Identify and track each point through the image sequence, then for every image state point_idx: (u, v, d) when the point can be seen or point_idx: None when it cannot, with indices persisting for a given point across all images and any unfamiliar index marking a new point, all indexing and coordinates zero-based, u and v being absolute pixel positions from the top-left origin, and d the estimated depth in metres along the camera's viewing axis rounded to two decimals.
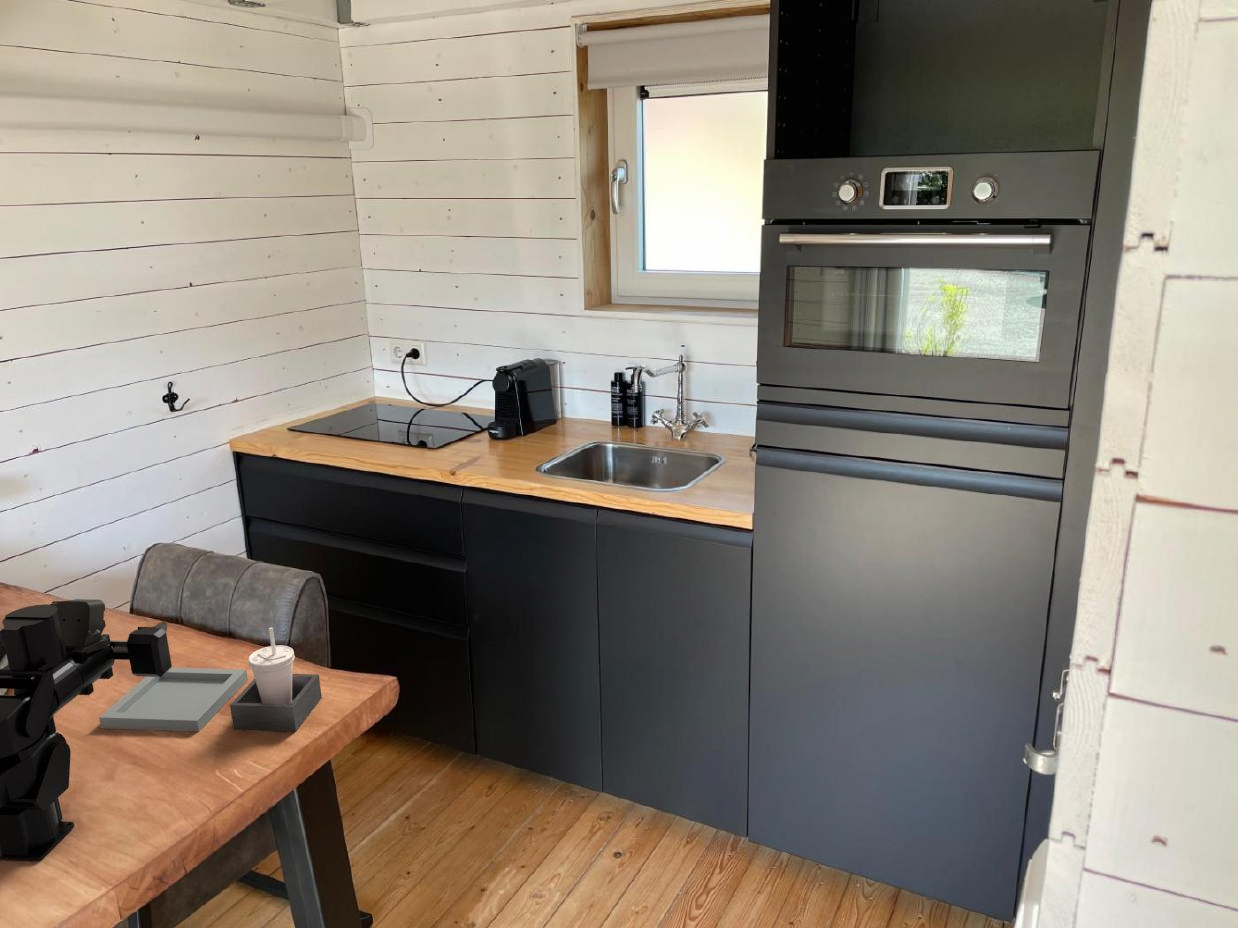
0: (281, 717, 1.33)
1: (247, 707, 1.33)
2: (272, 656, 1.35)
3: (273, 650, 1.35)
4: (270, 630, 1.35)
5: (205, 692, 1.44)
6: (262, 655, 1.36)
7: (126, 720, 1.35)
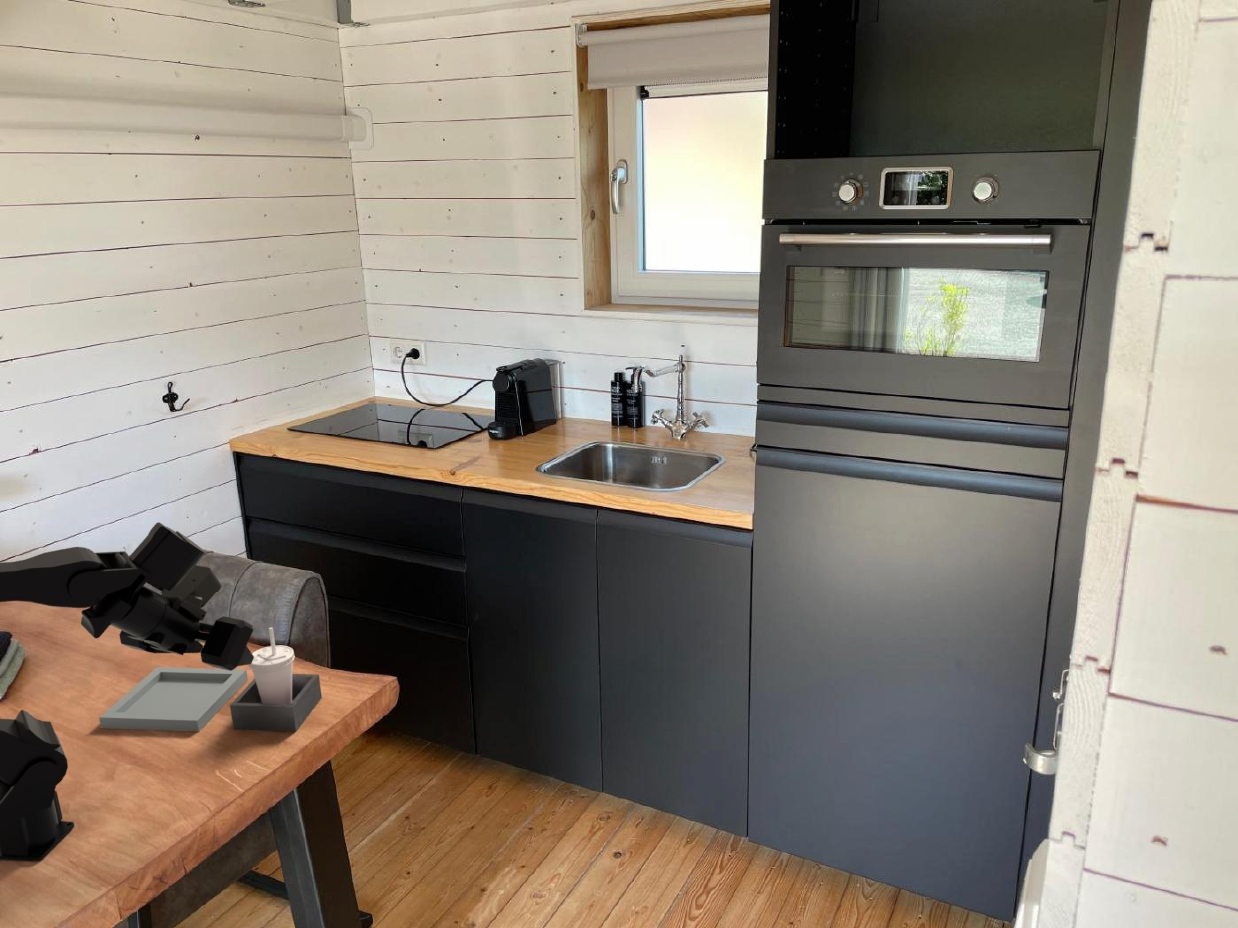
0: (281, 717, 1.33)
1: (247, 707, 1.33)
2: (272, 656, 1.35)
3: (273, 650, 1.35)
4: (270, 630, 1.35)
5: (205, 692, 1.44)
6: (262, 655, 1.36)
7: (126, 720, 1.35)
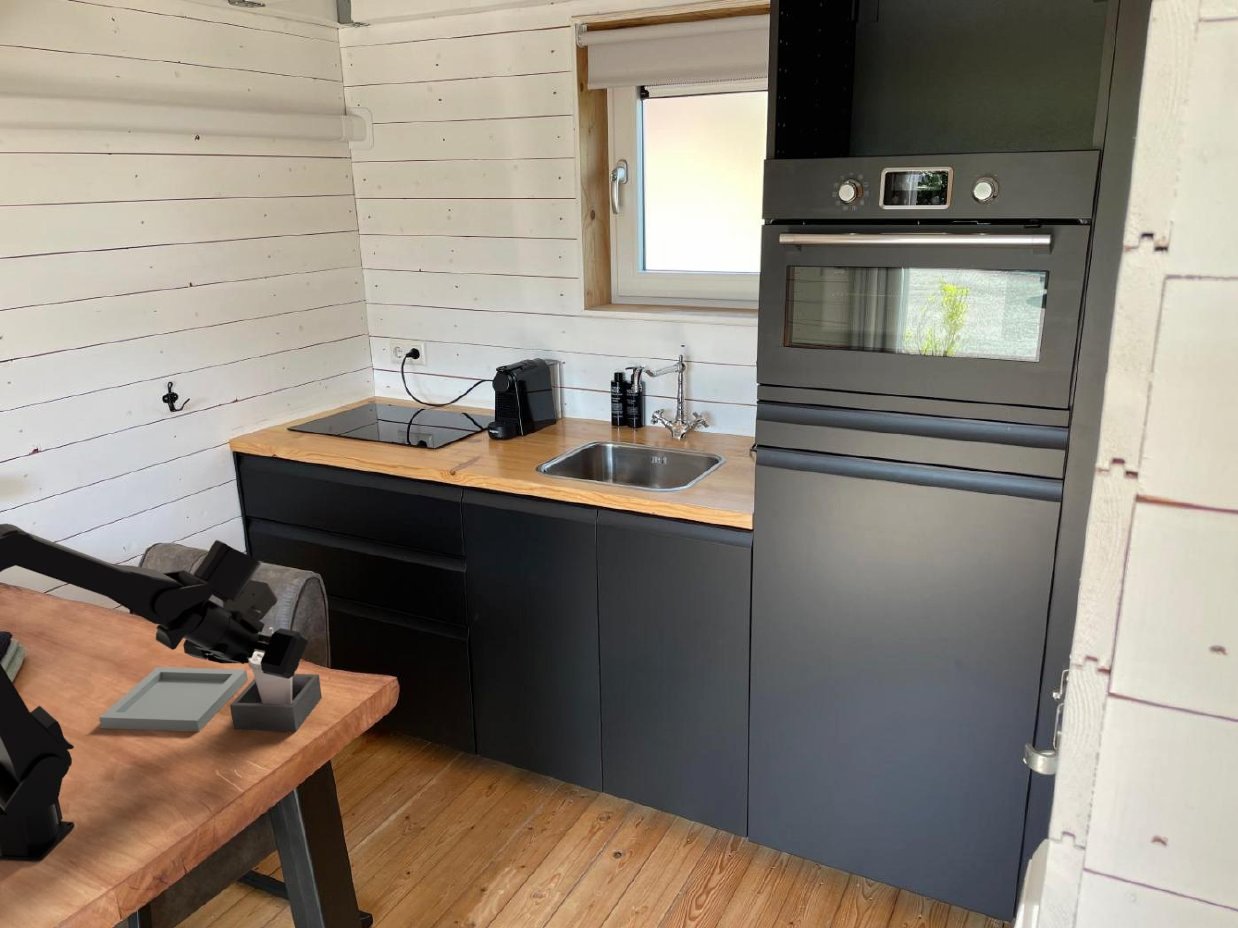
0: (281, 717, 1.33)
1: (247, 707, 1.33)
2: None
3: None
4: (270, 630, 1.35)
5: (205, 692, 1.44)
6: (262, 655, 1.36)
7: (126, 720, 1.35)
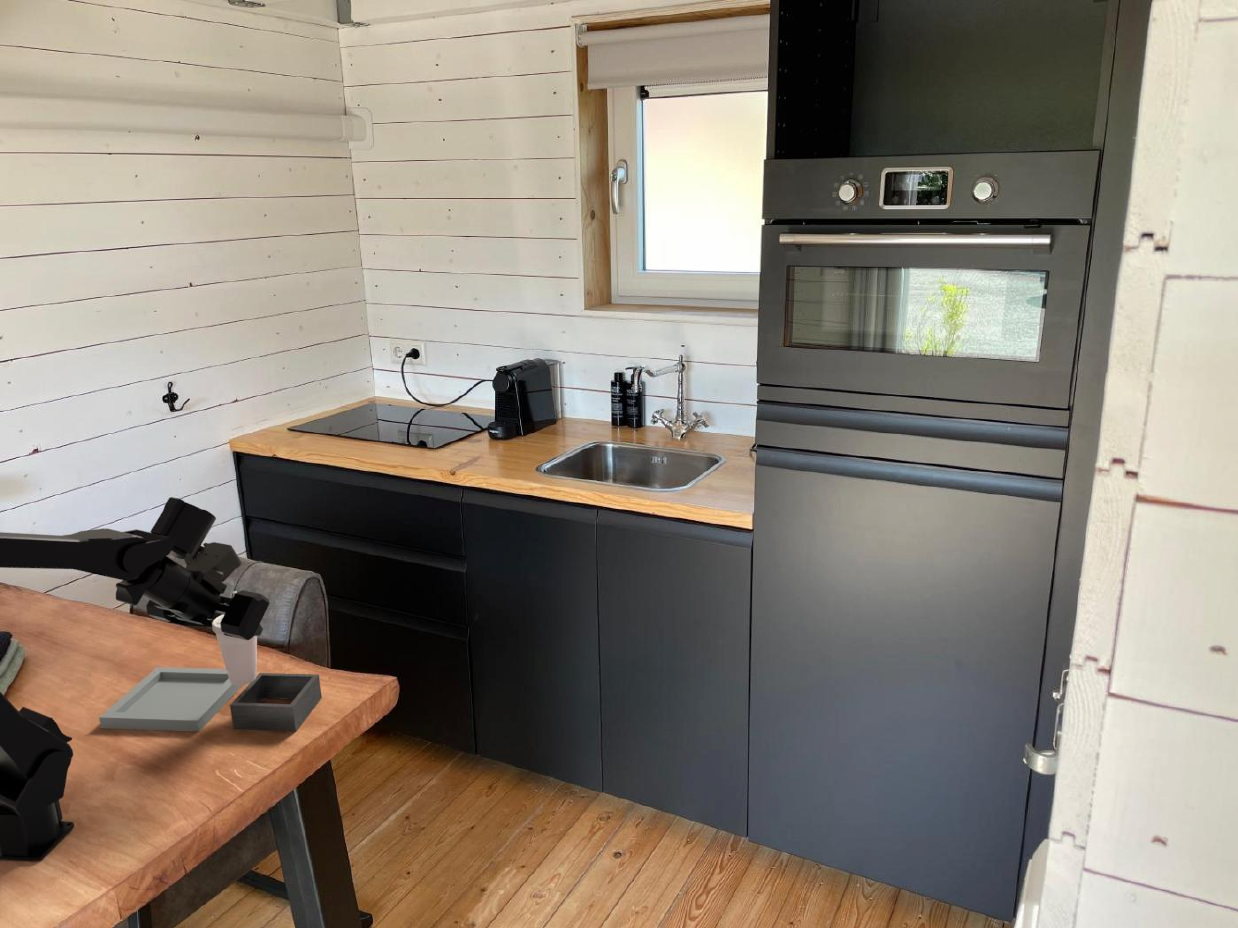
0: (281, 717, 1.33)
1: (247, 707, 1.33)
2: None
3: None
4: (234, 594, 1.34)
5: (205, 692, 1.44)
6: None
7: (126, 720, 1.35)
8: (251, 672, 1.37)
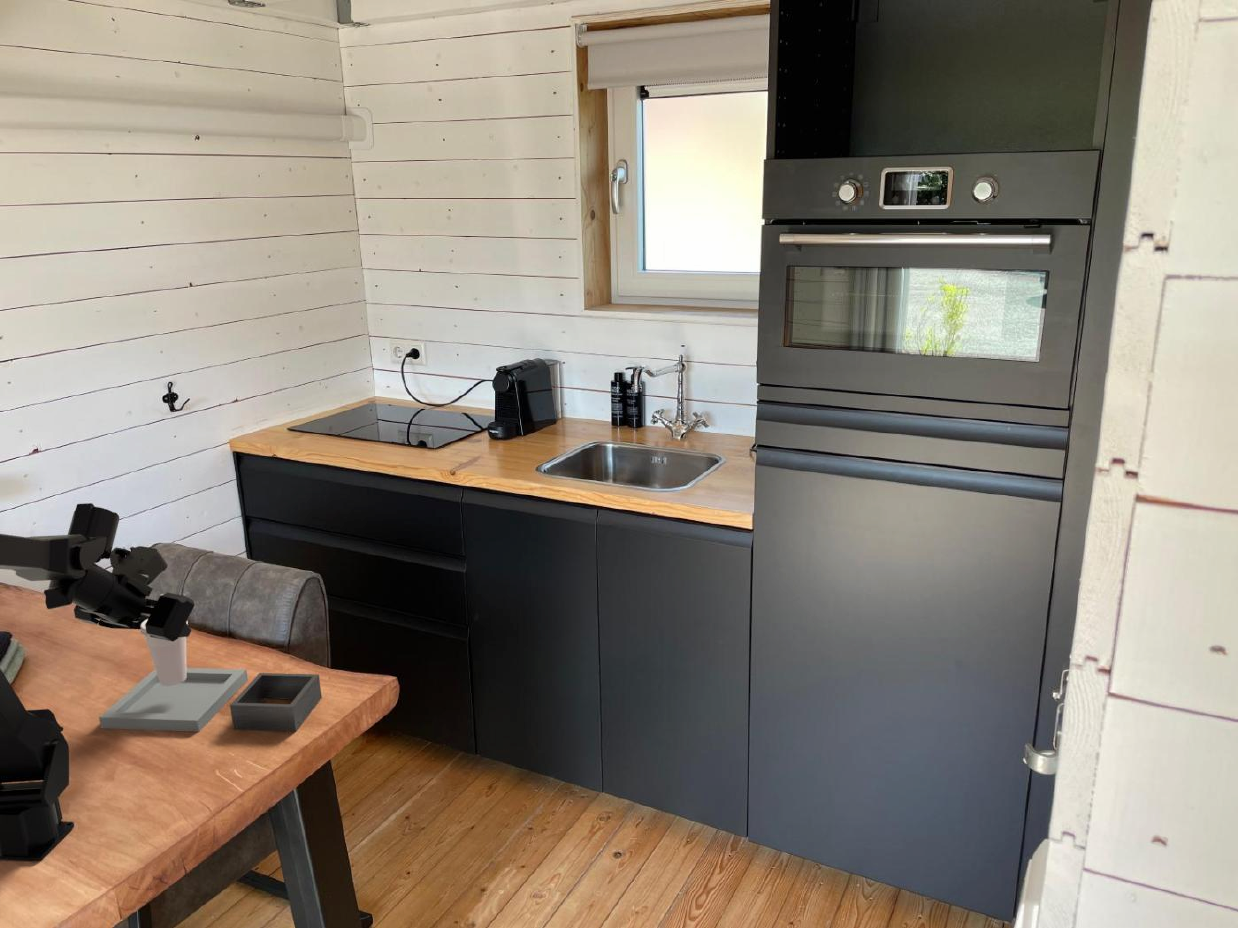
0: (281, 717, 1.33)
1: (247, 707, 1.33)
2: None
3: None
4: None
5: (205, 692, 1.44)
6: None
7: (126, 720, 1.35)
8: (181, 672, 1.40)
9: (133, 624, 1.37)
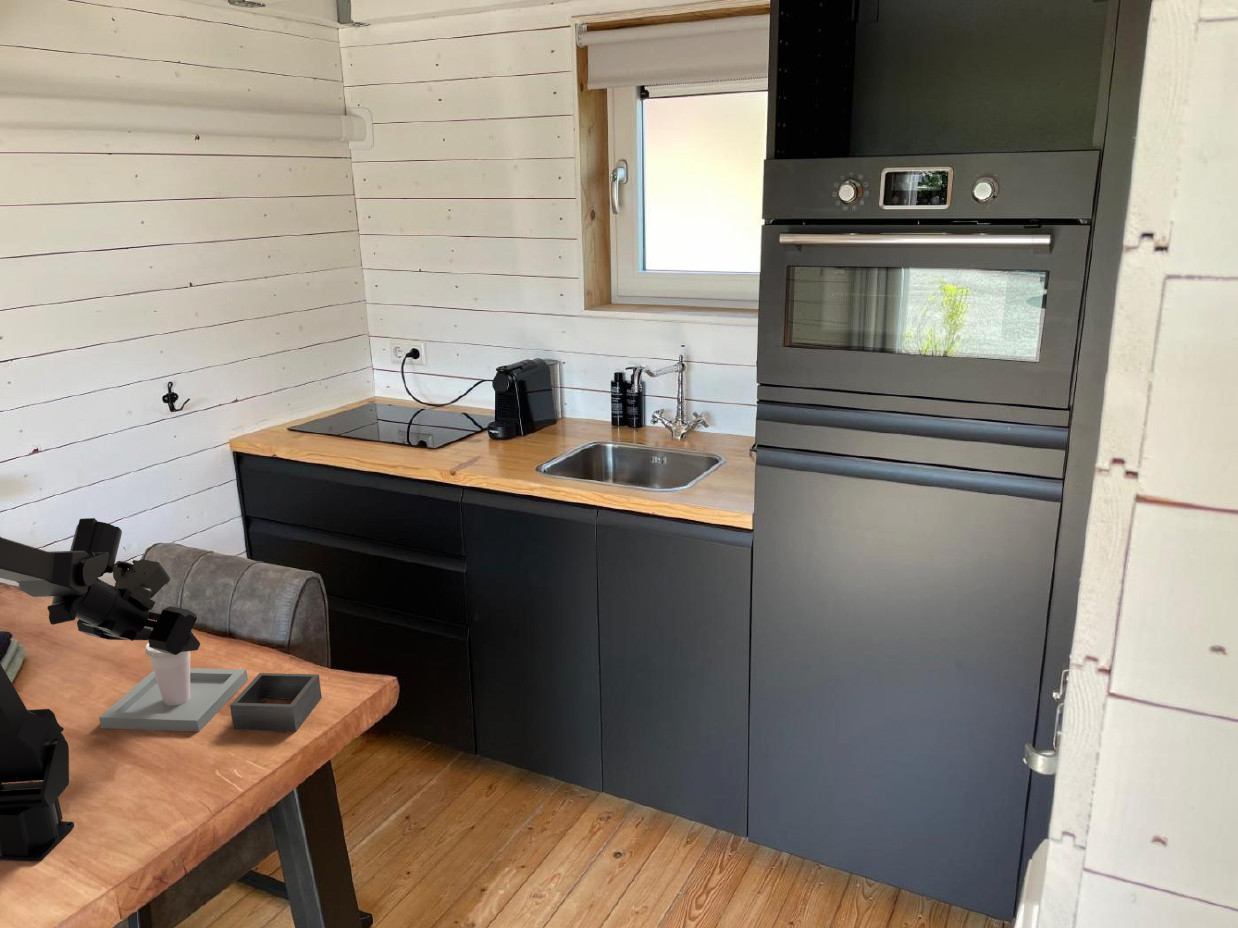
0: (281, 717, 1.33)
1: (247, 707, 1.33)
2: None
3: None
4: None
5: (205, 692, 1.44)
6: None
7: (126, 720, 1.35)
8: (185, 692, 1.41)
9: None
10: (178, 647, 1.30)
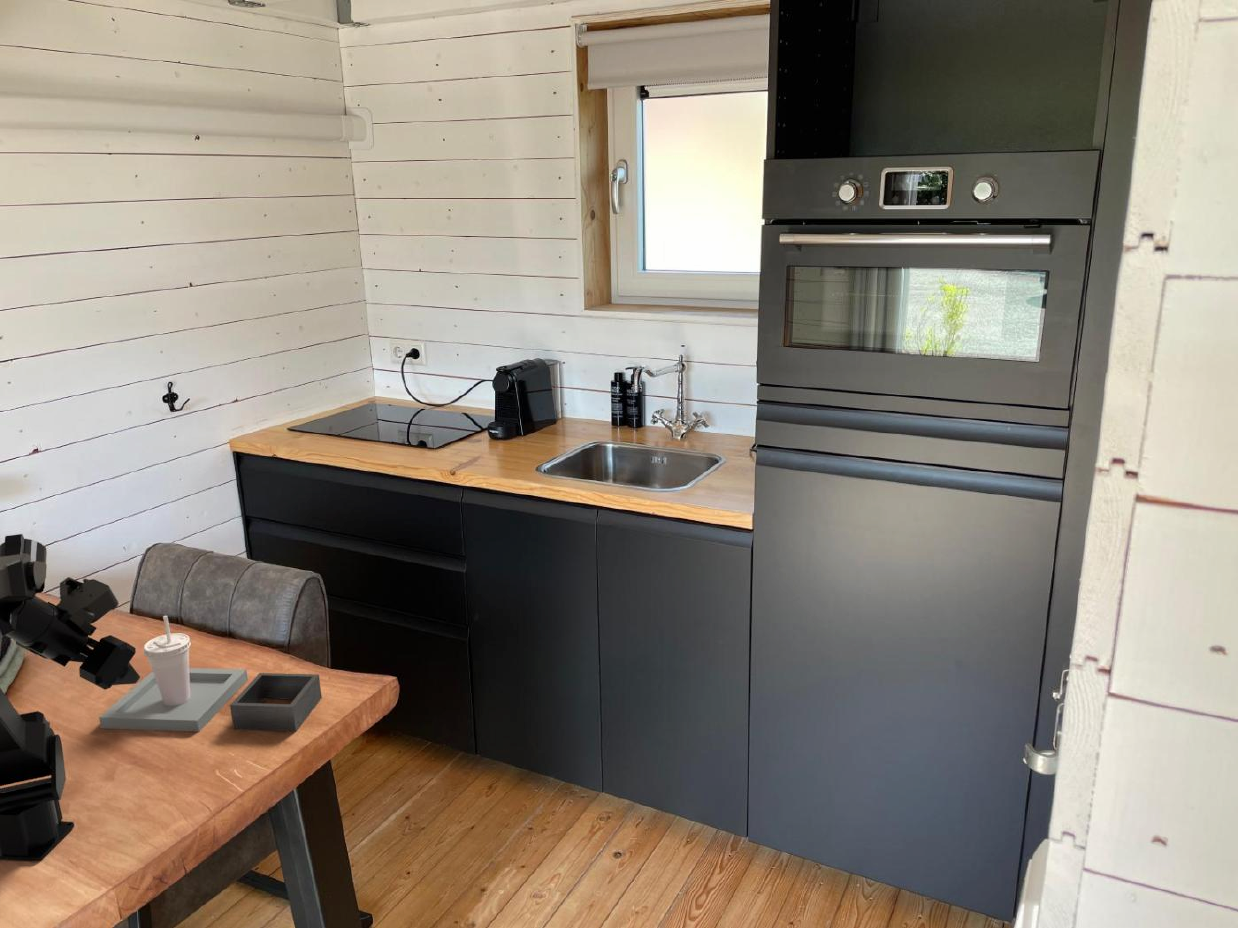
0: (281, 717, 1.33)
1: (247, 707, 1.33)
2: (167, 644, 1.38)
3: (168, 638, 1.39)
4: (164, 618, 1.38)
5: (205, 692, 1.44)
6: (158, 643, 1.39)
7: (126, 720, 1.35)
8: (184, 692, 1.41)
9: None
10: (108, 682, 1.21)
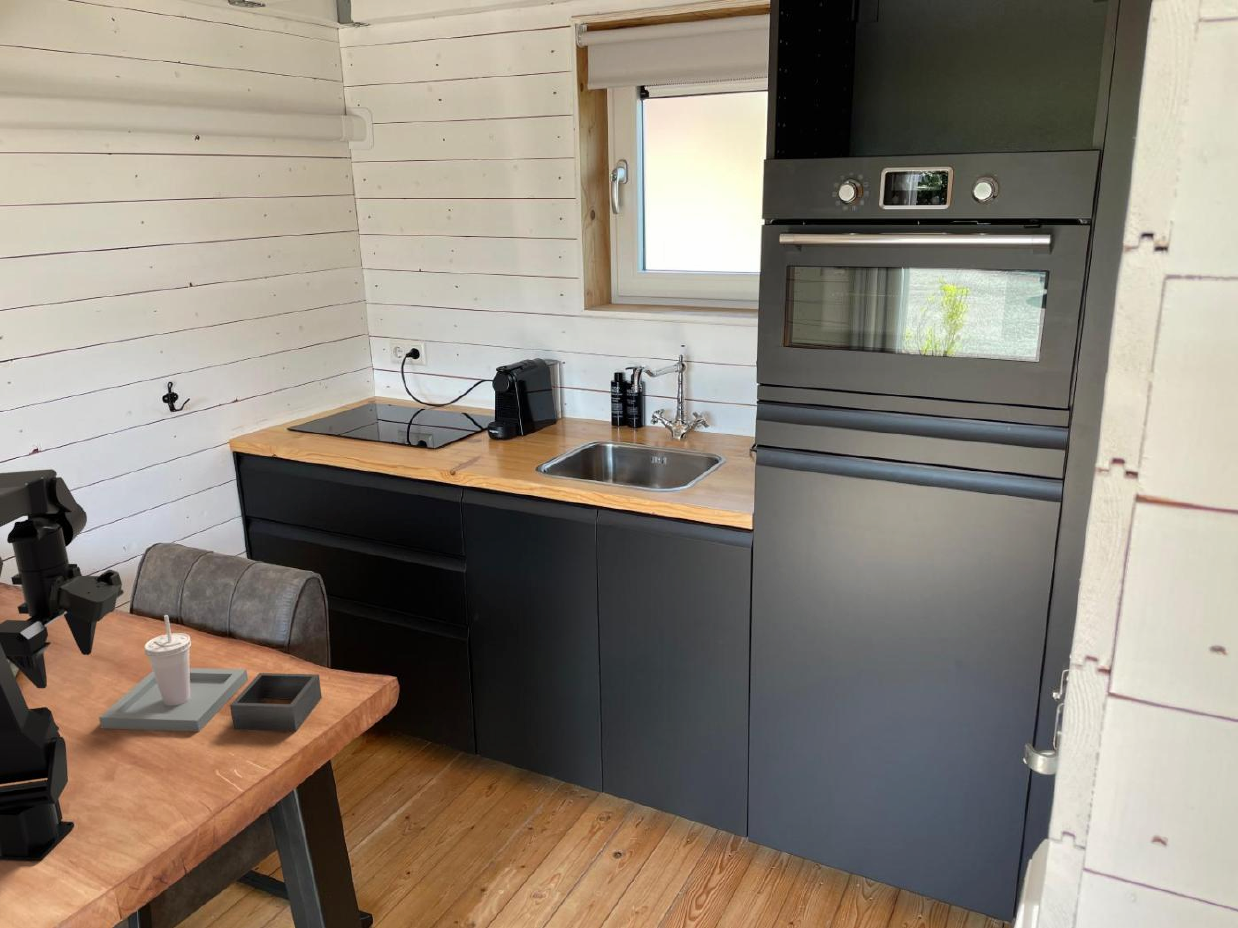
0: (281, 717, 1.33)
1: (247, 707, 1.33)
2: (168, 643, 1.38)
3: (168, 637, 1.39)
4: (165, 617, 1.38)
5: (205, 692, 1.44)
6: (158, 642, 1.39)
7: (126, 720, 1.35)
8: (184, 692, 1.41)
9: (73, 627, 1.29)
10: None
